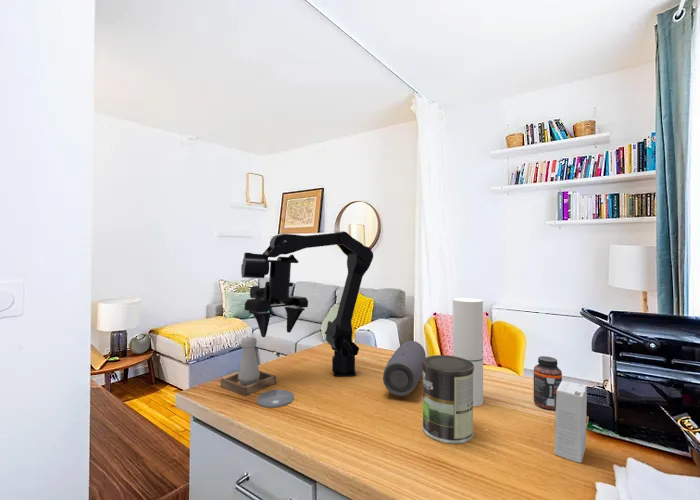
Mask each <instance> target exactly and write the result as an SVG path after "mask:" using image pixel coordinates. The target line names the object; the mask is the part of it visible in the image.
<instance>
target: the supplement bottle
mask: <svg viewBox="0 0 700 500" xmlns="http://www.w3.org/2000/svg"><path fill="white" fill-rule="evenodd" d="M561 381H563V372H562V370H561V369H560V368H559V367H558V359H557V358H555V357H553V356H552V357H551V356H546V355H545V356H544V355H543V356H542V355H540V356H538V357H537V364H536V365H534V367H533V402H534V404H535V405H536V406H537V407H540V408H542V409H546V410H550V411H556V391H557V389H558V387H559V385H560V383H561Z"/></svg>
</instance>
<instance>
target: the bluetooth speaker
mask: <svg viewBox="0 0 700 500" xmlns="http://www.w3.org/2000/svg"><path fill="white" fill-rule="evenodd" d="M426 355H427V354H426V351H425V348H424V346H422V344H421V343H420V342H418V341H416V340H407V341H405V342H403V343H402V344H401V345H400V346H399V347H398V348H397V349H396V350H395V352H394V353H393V354H391V357H390V358H389V360H388V362H387V364H386V366H385V368H384V369H383V375H382V382H383V385H384V386H385V389H386V390H387V391H388V392H389V393H390V394H392V395H395V396H399V397H404V396H408V395H409V394H411V393H412V392H413V391H414V389H415V388H416V386H417V385H418V383H419V381H420V379H421V376H422V375H423V364H422V361H423V359H424V358H426V357H427V356H426Z"/></svg>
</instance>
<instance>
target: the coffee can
mask: <svg viewBox="0 0 700 500" xmlns="http://www.w3.org/2000/svg"><path fill="white" fill-rule="evenodd" d="M422 364H423V371H422V430H423V432H424V433H425V435H426V436H428V437H429V438H431V439H433V440H435V441H437V442H439V443H444V444H449V445H451V444H452V445H459V444H465V443H467V442H469V441H471V440H472V439H473V438H474V406H473V370H474V364H473V363H472V362H470V361H468V360H466V359H463V358H460V357H455V356H453V355H446V354H439V355H437V354H436V355H430V356H429V355H428V356H426V358H424V359H423V361H422Z"/></svg>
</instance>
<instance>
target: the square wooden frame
mask: <svg viewBox="0 0 700 500" xmlns="http://www.w3.org/2000/svg"><path fill="white" fill-rule="evenodd" d="M238 373H239V372H237V373H234V374H231V375H229V376H226V377H223V378H220V387H221V388H223V389H227V390H229V391H232V392H234V393H237V394H239V395H242V396H244V397H246V396H248V395H251V394H253V393H255V392H258V391H260V390H262V389H266V388H268V387H270V386H272V385H275V384H277V375H275V374H271V373H268V372H265V371H261V370H259V373H260V376H259V379H258V381H257V382H256V383H253V384H250V385H248V386H243V385H241V384H240V383H237V382H239V380H238Z"/></svg>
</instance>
